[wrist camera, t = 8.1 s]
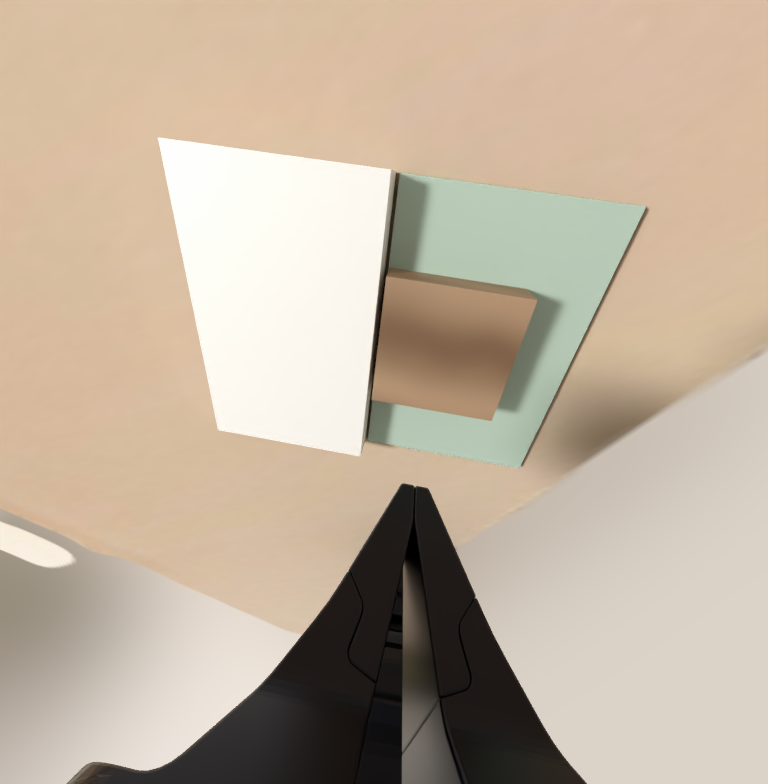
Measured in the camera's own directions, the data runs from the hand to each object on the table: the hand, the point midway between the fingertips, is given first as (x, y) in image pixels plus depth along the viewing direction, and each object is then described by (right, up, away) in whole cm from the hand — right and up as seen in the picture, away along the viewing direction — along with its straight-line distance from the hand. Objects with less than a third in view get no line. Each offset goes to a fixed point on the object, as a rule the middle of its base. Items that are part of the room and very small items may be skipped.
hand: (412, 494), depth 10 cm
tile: (+3, +6, +8) cm, 11 cm away
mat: (+4, +6, +9) cm, 11 cm away
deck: (-6, +7, +9) cm, 13 cm away
